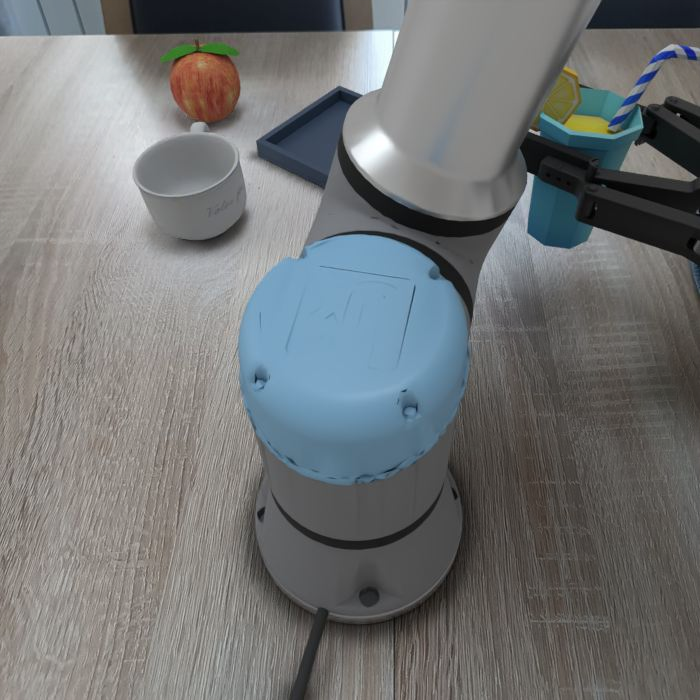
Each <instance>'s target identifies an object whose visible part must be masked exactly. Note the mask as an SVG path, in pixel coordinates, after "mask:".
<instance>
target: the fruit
mask: <svg viewBox="0 0 700 700" xmlns="http://www.w3.org/2000/svg"><path fill="white" fill-rule="evenodd" d="M193 40H194V44H193V45H192V44H181V45H178V46H175V47H173V48H172V49H170V50H169V51H168V52H167V53H165V54H164V55H163V56H162V57H161V58H160V59H159V60H160V61H159V62H160V63H162V64H163V63H166V62H168V61H171V60H173V61H172V65H171V69H170V73H169V87H170V92H171V94H172V97H173V100H174V102H175V104H176V105H177V106H178V108H179V109H180V110H182V112H183V113H184V114H185V115H187V116H188V117H190V118H191V119H192V120H195V121H196V122H204V123H206V124H207V123H208V124H210V123H215V122H220V121H222V120H223V119H225V118H226V117H228V116H230V115H231V114H232V113H233V111H234V110H235V108H236V107H237V104H238V102H239V99H240V96H241V90H242V88H241V79H240V75H239V74H240V73H239V72H238V70H237V67H236V65H235V63H234V61H233V60H232V59H231V57H230V56H233V57H237V56H239V55H240V51H239V50H237V49H235V48H234V47H232V46H230V45H228V44H226V43H221V42H208V43H199V38H198V37H194V38H193Z"/></svg>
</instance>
